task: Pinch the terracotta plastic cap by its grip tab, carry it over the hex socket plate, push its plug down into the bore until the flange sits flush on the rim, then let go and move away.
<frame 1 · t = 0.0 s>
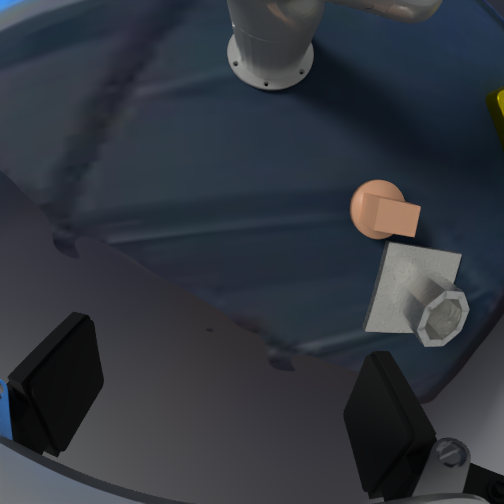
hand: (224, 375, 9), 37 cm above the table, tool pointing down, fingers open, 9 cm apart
hex socket plate: (412, 289, 48), on the table
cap: (369, 205, 44), on the table
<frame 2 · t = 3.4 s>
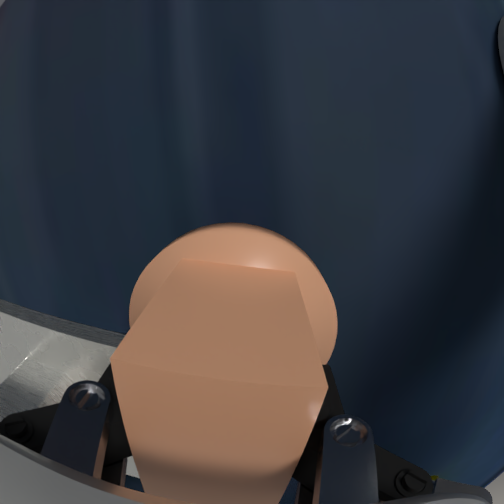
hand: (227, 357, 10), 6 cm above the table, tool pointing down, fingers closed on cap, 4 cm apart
hex socket plate: (67, 396, 19), on the table
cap: (237, 290, 16), on the table, touching gripper
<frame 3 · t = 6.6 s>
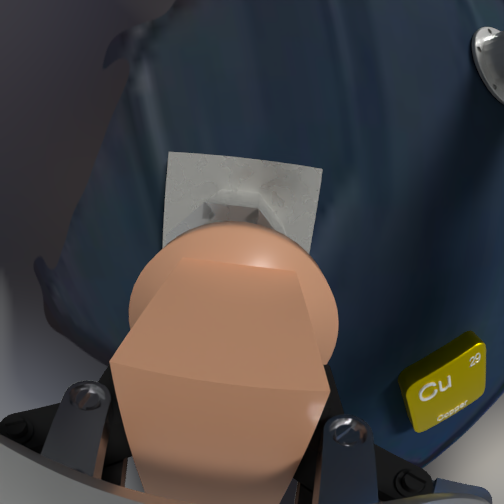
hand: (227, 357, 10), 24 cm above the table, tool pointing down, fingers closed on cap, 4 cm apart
hex socket plate: (237, 230, 33), on the table
element tile: (440, 376, 40), on the table
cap: (238, 289, 16), point 18 cm above the table, touching gripper
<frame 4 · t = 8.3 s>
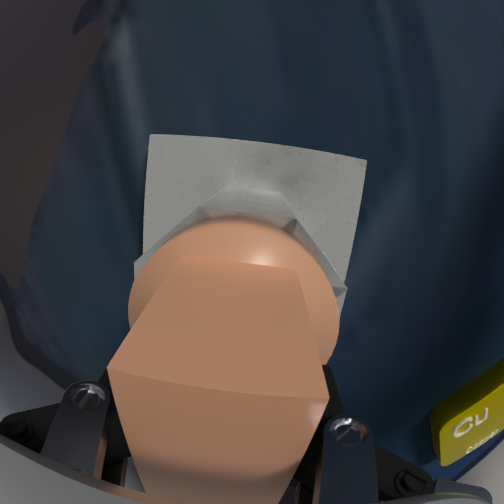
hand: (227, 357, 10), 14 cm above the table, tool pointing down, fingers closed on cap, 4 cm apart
hex socket plate: (246, 245, 24), on the table
element tile: (471, 406, 31), on the table
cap: (238, 284, 16), point 9 cm above the table, touching gripper, hex socket plate
when the fingers open (14 cm above the table, at t = 9.6 s): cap stays where it is, resting on hex socket plate.
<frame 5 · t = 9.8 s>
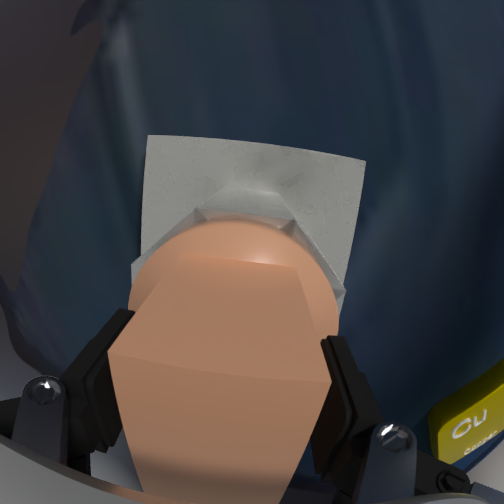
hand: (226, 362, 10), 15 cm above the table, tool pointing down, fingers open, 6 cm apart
hex socket plate: (244, 246, 24), on the table
element tile: (470, 407, 31), on the table
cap: (237, 287, 16), point 8 cm above the table, touching hex socket plate
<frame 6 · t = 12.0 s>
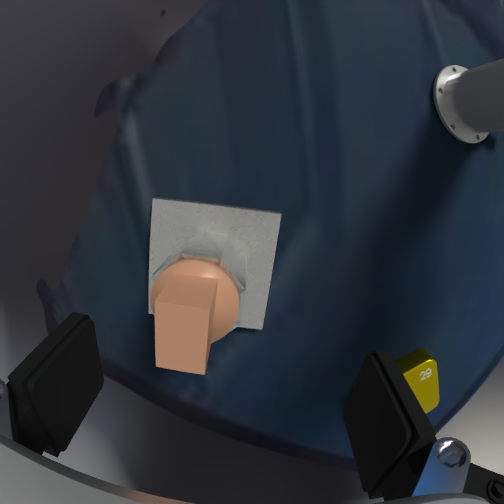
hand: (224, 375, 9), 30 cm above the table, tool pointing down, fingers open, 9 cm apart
hex socket plate: (210, 264, 40), on the table
element tile: (394, 388, 48), on the table
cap: (200, 287, 32), point 8 cm above the table, touching hex socket plate
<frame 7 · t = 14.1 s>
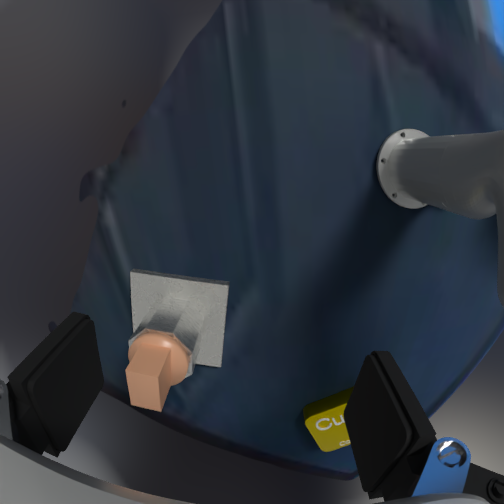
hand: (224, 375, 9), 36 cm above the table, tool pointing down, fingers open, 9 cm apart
hex socket plate: (178, 318, 50), on the table
element tile: (343, 412, 57), on the table
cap: (165, 345, 41), point 8 cm above the table, touching hex socket plate
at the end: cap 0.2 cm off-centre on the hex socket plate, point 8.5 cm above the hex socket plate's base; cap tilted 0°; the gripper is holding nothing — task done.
